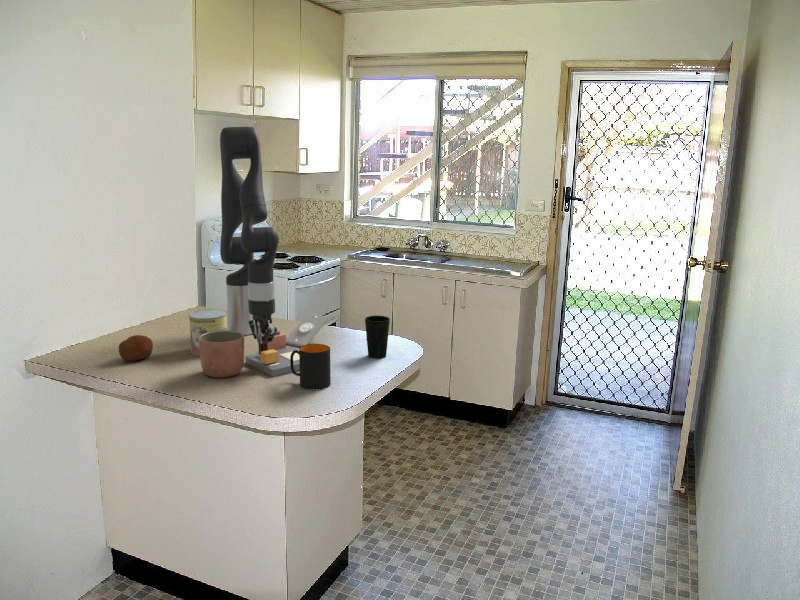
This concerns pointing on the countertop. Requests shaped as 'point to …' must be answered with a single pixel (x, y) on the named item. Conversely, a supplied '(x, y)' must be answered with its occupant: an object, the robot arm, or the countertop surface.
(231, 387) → the countertop surface
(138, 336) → the potato
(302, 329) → the light switch
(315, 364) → the mug
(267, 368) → the panel
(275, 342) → the pink square block
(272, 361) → the orange rectangular prism
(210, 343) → the pink terracotta mug
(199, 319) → the canned food
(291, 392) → the countertop surface
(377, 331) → the cup
